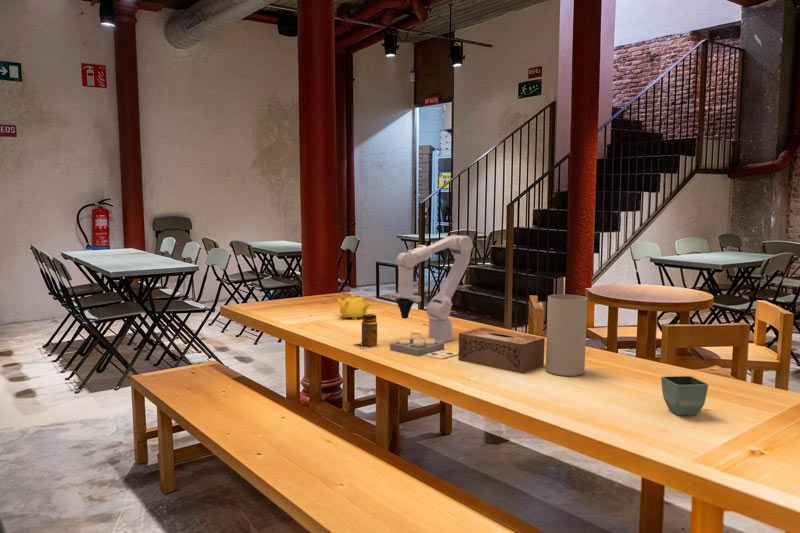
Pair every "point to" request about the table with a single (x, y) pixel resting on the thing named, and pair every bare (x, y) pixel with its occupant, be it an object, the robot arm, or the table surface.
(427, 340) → the button
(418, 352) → the board
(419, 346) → the button
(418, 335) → the button
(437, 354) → the card
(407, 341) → the button
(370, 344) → the condiment
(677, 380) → the flower pot
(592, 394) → the table surface
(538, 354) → the tissue box cover
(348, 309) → the teapot
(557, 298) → the cylinder vase
